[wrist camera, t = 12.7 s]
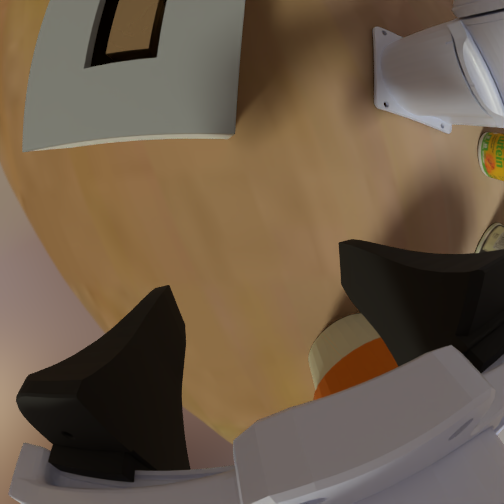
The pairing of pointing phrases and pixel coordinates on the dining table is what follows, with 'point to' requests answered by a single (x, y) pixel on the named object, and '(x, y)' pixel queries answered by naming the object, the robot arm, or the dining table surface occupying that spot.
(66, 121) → the box
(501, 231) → the coffee can
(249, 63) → the dining table surface
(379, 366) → the reusable coffee cup
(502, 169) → the supplement bottle
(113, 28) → the tan rectangular block
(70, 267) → the dining table surface
